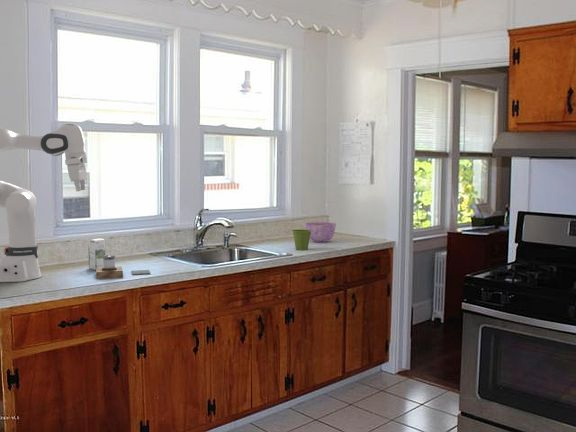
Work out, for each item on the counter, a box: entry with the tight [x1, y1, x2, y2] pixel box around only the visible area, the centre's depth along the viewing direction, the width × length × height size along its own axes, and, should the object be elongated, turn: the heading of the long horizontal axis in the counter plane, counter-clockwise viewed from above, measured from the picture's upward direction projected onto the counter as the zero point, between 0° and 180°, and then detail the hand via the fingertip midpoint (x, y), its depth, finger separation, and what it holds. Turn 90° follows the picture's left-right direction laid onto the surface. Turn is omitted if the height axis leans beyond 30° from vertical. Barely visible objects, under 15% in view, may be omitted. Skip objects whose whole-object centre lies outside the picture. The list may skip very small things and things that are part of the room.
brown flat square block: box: [95, 266, 124, 280], centre depth 265 cm, size 11×11×3 cm
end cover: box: [102, 254, 116, 271], centre depth 265 cm, size 6×6×9 cm
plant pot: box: [291, 228, 312, 251], centre depth 345 cm, size 12×12×11 cm
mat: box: [131, 269, 151, 276], centre depth 272 cm, size 8×8×1 cm
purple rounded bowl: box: [305, 221, 337, 243], centre depth 378 cm, size 20×20×12 cm
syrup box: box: [88, 237, 106, 271], centre depth 282 cm, size 6×6×14 cm
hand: (80, 190), depth 265 cm, fingers open, 8 cm apart
